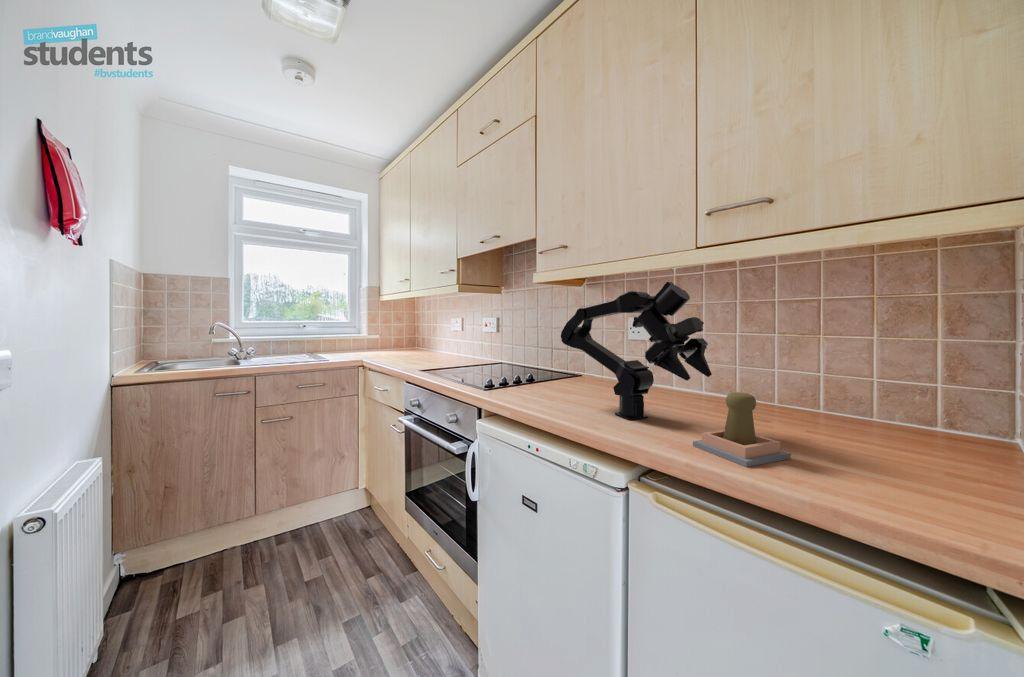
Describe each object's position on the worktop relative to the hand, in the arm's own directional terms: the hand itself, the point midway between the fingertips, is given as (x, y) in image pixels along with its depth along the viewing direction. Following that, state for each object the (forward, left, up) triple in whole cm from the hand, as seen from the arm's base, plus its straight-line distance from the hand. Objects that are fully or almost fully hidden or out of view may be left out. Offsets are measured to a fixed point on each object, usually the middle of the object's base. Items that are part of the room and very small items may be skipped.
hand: (699, 377), depth 85 cm
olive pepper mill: (+12, -2, -13) cm, 17 cm away
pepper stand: (+12, -2, -13) cm, 18 cm away
